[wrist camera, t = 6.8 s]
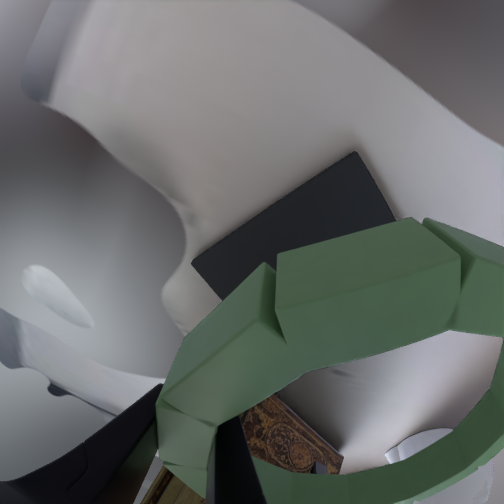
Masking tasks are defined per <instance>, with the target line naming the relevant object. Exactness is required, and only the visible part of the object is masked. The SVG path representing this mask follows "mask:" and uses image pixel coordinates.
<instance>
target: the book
mask: <svg viewBox="0 0 504 504" xmlns="http://www.w3.org/2000/svg"><path fill="white" fill-rule="evenodd" d="M239 417H240V420H241V423H242V427H243V430H244V433H245V436H246V440H247V443H248V446H249V449H250V452H251V456H254V457H256V458H258V459H260V460H263V461H265V462H267V463H270V464H272V465H275V466H277V467H280V468H282V469H285V470H287V471H290V472H293V473H307V474H310V472H311V469H312V466H313V464H314V463H315V461H317V462H319V463H321V464H323V465H325V466H327V468H328V474H332V475H339V472H340V469H341V465H342V462H343V459H344V456H343V455H341V454H340V453H339V452H338V451H337V450H335V449H334V448H333V447H332V446H331V445H330V444H329V443H327V442H326V441H325V440H324V439H323V438H322V437H321V436H319V435H318V434H317V433H316V432H315V431H314V430H313V429H312V428H311V427H309V426H308V425H307V424H306V423H305V422H304V421H303V420H302V419H301V418H300V417H299V416H298V415H296V414H295V413H294V412H293V411H292V410H291V409H290V408H289V407H288V406H287V405H285V404H284V403H283V402H282V401H281V400H280V399H278V398H277V397H276V396H275V395H274V394H273V395H271V396H270V397H268V398H266V399H265V400H263V401H261V402H260V403H258V404H256V405H254V406H253V407H251V408H249V409H248V410H246V411H244V412H242V413H241V414H239ZM140 504H205V499H204V498H203V497H201V496H200V495H199V494H197V493H196V492H195V491H194V490H192V489H191V488H190V487H189V486H187V485H186V484H185V483H184V482H183V481H181V480H180V479H179V478H178V477H177V476H175V475H174V474H173V473H172V472H171V471H170V470H169V469H167V468H166V467H165V466H164V465H163V467H162V469H161V470H160V472H159V474H158V475H157V477H156V479H155V480H154V482H153V484H152V485H151V487H150V489H149V490H148V492H147V493H146V495H145V497H144V498H143V500H142V502H141V503H140Z"/></svg>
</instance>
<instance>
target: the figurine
mask: <svg viewBox="0 0 504 504" xmlns="http://www.w3.org/2000/svg"><path fill="white" fill-rule="evenodd" d="M452 431H453V429H449V428H439V429H432V430H427V431H424V432H420V433H417V434H415V435H413V436H410V437H408V438H407V439H405V440H403V441H402V442H401V443H400V444H399V445H398V446H396V447H394V448H392V449H390V450H389V451H388V452H387V453H386V454H385V456H386V458H387V460H388V461H389V463H390V464H391V463H395V462H398V461H401V460H404V459H406V458H408V457H410V456H412V455H414V454H415V453H417V452H419V451H421V450H423V449H424V448H426V447H428V446H429V445H431V444H433V443H434V442H436V441H438V440H439V439H441V438H442V437H444V436H445V435H447V434H449V433H450V432H452ZM493 472H494V464H493V459H491V460H490V461H489V462H487V463H486V464H485V465H483V466H479V467H478V470H477V471H475V472H474V473H472V474H471V475H469V476H467V477H466V478H464V479H462V480H460V481H459V482H457V483H455V484H453V485H452V486H450V487H448V488H446V489H444V490H442V491H440V492H438V493H436V494H434V495H432V496H430V497H428V498H426V499H424V500H422V501H414V502H413V504H486V502H487V499H488V496H489V493H490V489H491V485H492V480H493Z"/></svg>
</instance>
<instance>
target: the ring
mask: <svg viewBox="0 0 504 504" xmlns="http://www.w3.org/2000/svg"><path fill="white" fill-rule="evenodd" d="M448 330H452V331H459V332H466V333H473V334H481V335H488V336H496V337H503V339H504V247H502V246H500V245H497V244H495V243H492V242H490V241H488V240H485V239H483V238H480V237H478V236H475V235H472V234H470V233H467V232H465V231H462V230H459V229H457V228H454V227H451V226H449V225H446V224H443V223H440V222H438V221H435V220H432V219H429V218H424V220H423V223H422V225H421V224H420V223H419V222H418V221H416V220H415V219H414V218H412V217H410V218H406V219H402V220H399V221H395V222H392V223H388V224H384V225H381V226H377V227H373V228H370V229H366V230H363V231H359V232H355V233H352V234H348V235H344V236H341V237H337V238H333V239H330V240H326V241H322V242H319V243H315V244H311V245H308V246H304V247H300V248H297V249H293V250H289V251H285V252H282V253H279V254H277V272H276V271H275V270H274V269H273V268H272V267H270V266H269V265H268V264H267V263H265V262H263V263H262V264H261V265H260V266H259V267H257V268H256V269H255V270H254V271H253V272H252V273H251V274H250V275H249V276H248V277H247V278H246V279H245V280H244V281H243V282H242V283H241V284H240V285H239V286H238V287H237V288H236V289H235V290H234V291H233V292H232V293H231V294H230V295H229V296H227V297H226V298H225V299H224V300H223V301H222V302H221V303H220V304H219V305H218V306H217V307H216V308H215V309H214V310H213V311H212V312H211V313H210V314H209V315H208V316H207V317H206V318H205V319H203V320H202V321H201V322H200V323H199V324H198V325H197V326H196V327H195V328H194V329H193V330H192V331H191V332H190V333H189V334H188V335H187V336H186V337H185V338H184V340H183V342H182V345H181V347H180V349H179V351H178V353H177V355H176V357H175V360H174V362H173V365H172V367H171V369H170V371H169V374H168V376H167V378H166V381H165V383H164V385H163V388H162V390H161V392H160V395H159V397H158V399H157V402H156V422H157V437H158V451H159V459H161V460H163V465H164V466H165V467H166V468H167V469H169V470H170V471H171V472H172V473H173V474H174V475H175V476H177V477H178V478H179V479H180V480H181V481H183V482H184V483H185V484H186V485H187V486H189V487H190V488H191V489H192V490H194V491H195V492H196V493H197V494H199V495H200V496H201V497H203V498H204V499H205V498H206V484H207V471H208V461H209V457H210V453H211V449H212V445H213V441H214V437H215V435H216V433H217V429H218V426H219V425H220V424H222V423H224V422H226V421H228V420H230V419H232V418H233V417H235V416H237V415H239V414H241V413H242V412H244V411H246V410H248V409H249V408H251V407H253V406H254V405H256V404H258V403H260V402H261V401H263V400H265V399H266V398H268V397H270V396H271V395H273V394H274V393H276V392H278V391H279V390H281V389H282V388H284V387H285V386H287V385H289V384H290V383H292V382H293V381H295V380H296V379H298V378H299V377H301V376H302V375H304V374H305V373H307V372H308V371H313V370H317V369H322V368H326V367H331V366H335V365H339V364H343V363H347V362H351V361H355V360H358V359H362V358H366V357H369V356H373V355H376V354H380V353H383V352H386V351H390V350H393V349H396V348H399V347H403V346H406V345H409V344H412V343H415V342H418V341H421V340H423V339H426V338H429V337H432V336H435V335H437V334H440V333H443V332H445V331H448ZM503 448H504V340H503V344H502V348H501V352H500V356H499V360H498V363H497V367H496V370H495V374H494V377H493V380H492V383H491V386H490V388H489V390H488V391H487V392H486V394H485V395H484V396H483V397H482V399H481V400H480V401H479V402H478V403H477V405H476V406H475V407H474V408H473V409H472V410H471V412H470V413H469V414H468V415H467V416H466V417H465V418H464V419H463V421H462V422H461V423H460V424H459V425H458V426H457V427H456V428H455V429H454V430H453V431H452V432H450V433H449V434H447V435H445V436H444V437H442V438H441V439H439V440H438V441H436V442H434V443H433V444H431V445H429V446H428V447H426V448H424V449H423V450H421V451H419V452H417V453H415V454H414V455H412V456H410V457H408V458H406V459H404V460H401V461H398V462H395V463H391V464H388V465H384V466H381V467H377V468H373V469H369V470H365V471H360V472H356V473H351V474H346V475H332V474H307V473H293V472H290V471H287V470H285V469H282V468H280V467H277V466H275V465H272V464H270V463H267V462H265V461H263V460H260V459H258V458H256V457H254V456H252V459H253V462H254V465H255V468H256V471H257V474H258V477H259V480H260V483H261V486H262V489H263V492H264V493H263V494H264V495H265V497H266V500H267V503H268V504H413V502H414V501H422V500H424V499H426V498H428V497H430V496H432V495H434V494H436V493H438V492H440V491H442V490H444V489H446V488H448V487H450V486H452V485H453V484H455V483H457V482H459V481H460V480H462V479H464V478H466V477H467V476H469V475H471V474H472V473H474V472H475V471H477V470H478V467H479V466H483V465H485V464H486V463H487V462H489V461H490V460H491V459H492V458H493V457H494V456H495V455H496V454H497V453H499V452H500V451H501V450H502V449H503Z"/></svg>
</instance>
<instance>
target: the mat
mask: <svg viewBox="0 0 504 504" xmlns="http://www.w3.org/2000/svg"><path fill="white" fill-rule="evenodd" d="M395 221H396V220H395V218H394V216H393V214H392V212H391V210H390V208H389V207H388V205H387V203H386V201H385V199H384V197H383V195H382V194H381V192H380V190H379V188H378V187H377V185H376V183H375V181H374V180H373V178H372V176H371V174H370V173H369V171H368V169H367V168H366V166H365V164H364V163H363V161H362V159H361V158H360V156H359V154H358V153H357V152H355V151H353V152H352V153H350V154H348V155H347V156H345V157H344V158H342V159H341V160H339V161H338V162H336V163H335V164H333V165H332V166H330V167H328V168H327V169H325V170H324V171H322V172H321V173H319V174H318V175H316V176H315V177H313V178H312V179H310V180H309V181H307V182H306V183H304V184H303V185H301V186H300V187H298V188H297V189H295V190H294V191H292V192H291V193H289V194H288V195H286V196H285V197H283V198H282V199H280V200H279V201H277V202H276V203H274V204H273V205H271V206H270V207H268V208H267V209H265V210H264V211H262V212H261V213H260V214H258V215H257V216H255V217H254V218H252V219H251V220H249V221H248V222H246V223H245V224H243V225H242V226H241V227H239V228H238V229H236V230H235V231H233V232H232V233H230V234H229V235H228V236H226V237H225V238H223V239H222V240H220V241H219V242H218V243H216V244H215V245H213V246H212V247H210V248H209V249H208V250H206V251H205V252H203V253H202V254H200V255H199V256H198V257H196V258H195V259H193V261H192V263H191V265H192V266H193V267H194V268H195V269H196V271H197V272H198V273H199V274H200V275H201V276H202V278H203V279H204V280H205V281H206V282H207V283H208V285H209V286H210V287H211V288H212V289H213V290H214V292H215V293H216V294H217V295H218V296H219V297H220V298H221V300H222V301H223V300H224V299H225V298H226V297H227V296H229V295H230V294H231V293H232V292H233V291H234V290H235V289H236V288H237V287H238V286H239V285H240V284H241V283H242V282H243V281H244V280H245V279H246V278H247V277H248V276H249V275H250V274H251V273H252V272H253V271H254V270H255V269H256V268H257V267H259V266H260V265H261V264H262V263H263V262H265V263H267V264H268V265H269V266H270V267H272V268H273V269H274V270H275V271H276V272H277V254H279V253H282V252H285V251H289V250H293V249H297V248H300V247H304V246H308V245H311V244H315V243H319V242H322V241H326V240H330V239H333V238H337V237H341V236H344V235H348V234H352V233H355V232H359V231H363V230H366V229H370V228H373V227H377V226H381V225H384V224H388V223H392V222H395Z"/></svg>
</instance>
